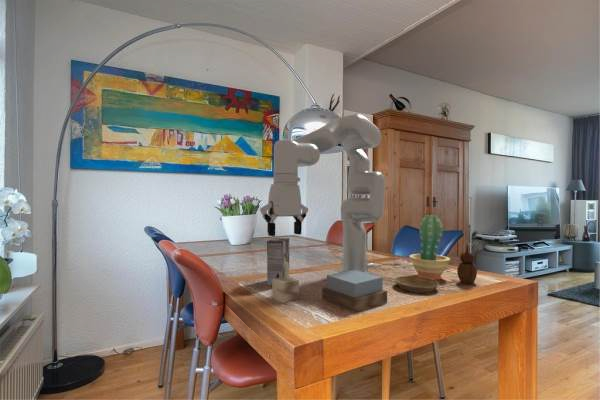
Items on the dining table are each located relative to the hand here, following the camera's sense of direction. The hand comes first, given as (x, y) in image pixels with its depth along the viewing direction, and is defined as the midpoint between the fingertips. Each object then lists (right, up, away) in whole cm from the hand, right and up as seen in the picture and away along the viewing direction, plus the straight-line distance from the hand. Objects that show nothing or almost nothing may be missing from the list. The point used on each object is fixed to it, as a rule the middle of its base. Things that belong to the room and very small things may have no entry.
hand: (284, 234), depth 96 cm
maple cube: (0, -20, 0) cm, 20 cm away
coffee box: (-3, -20, +19) cm, 28 cm away
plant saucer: (+46, -21, +12) cm, 52 cm away
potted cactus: (+57, -20, +28) cm, 66 cm away
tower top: (+22, -17, -1) cm, 27 cm away
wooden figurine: (+68, -20, +20) cm, 73 cm away
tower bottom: (+21, -21, -2) cm, 30 cm away
